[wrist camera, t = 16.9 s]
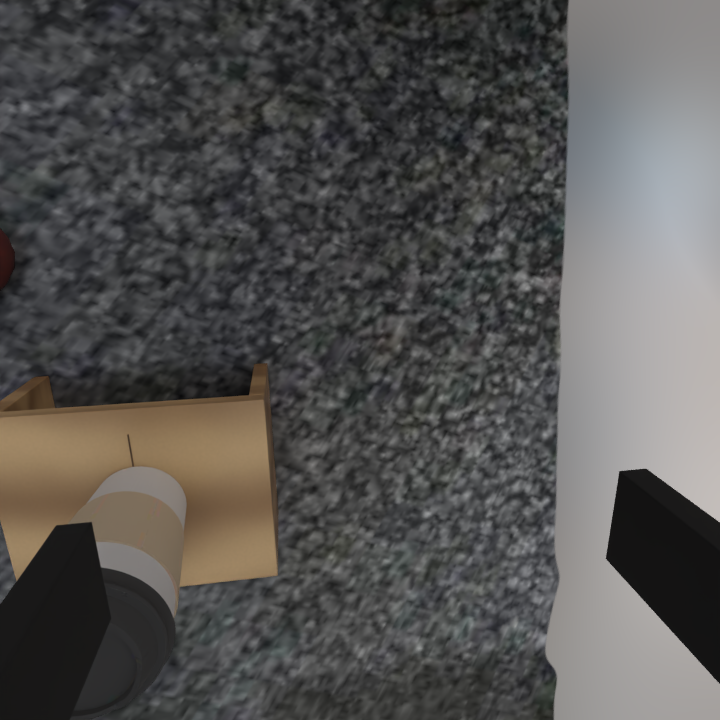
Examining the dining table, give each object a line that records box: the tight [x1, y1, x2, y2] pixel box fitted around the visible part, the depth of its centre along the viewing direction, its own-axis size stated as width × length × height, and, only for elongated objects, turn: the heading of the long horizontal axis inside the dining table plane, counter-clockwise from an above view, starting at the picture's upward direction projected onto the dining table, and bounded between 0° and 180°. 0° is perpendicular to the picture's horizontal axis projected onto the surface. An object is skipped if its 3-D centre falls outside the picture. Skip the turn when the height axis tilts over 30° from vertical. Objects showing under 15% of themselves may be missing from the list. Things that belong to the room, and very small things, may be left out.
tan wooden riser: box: [0, 363, 278, 587], centre depth 43 cm, size 16×20×9 cm
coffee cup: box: [68, 466, 187, 720], centre depth 32 cm, size 9×9×15 cm
